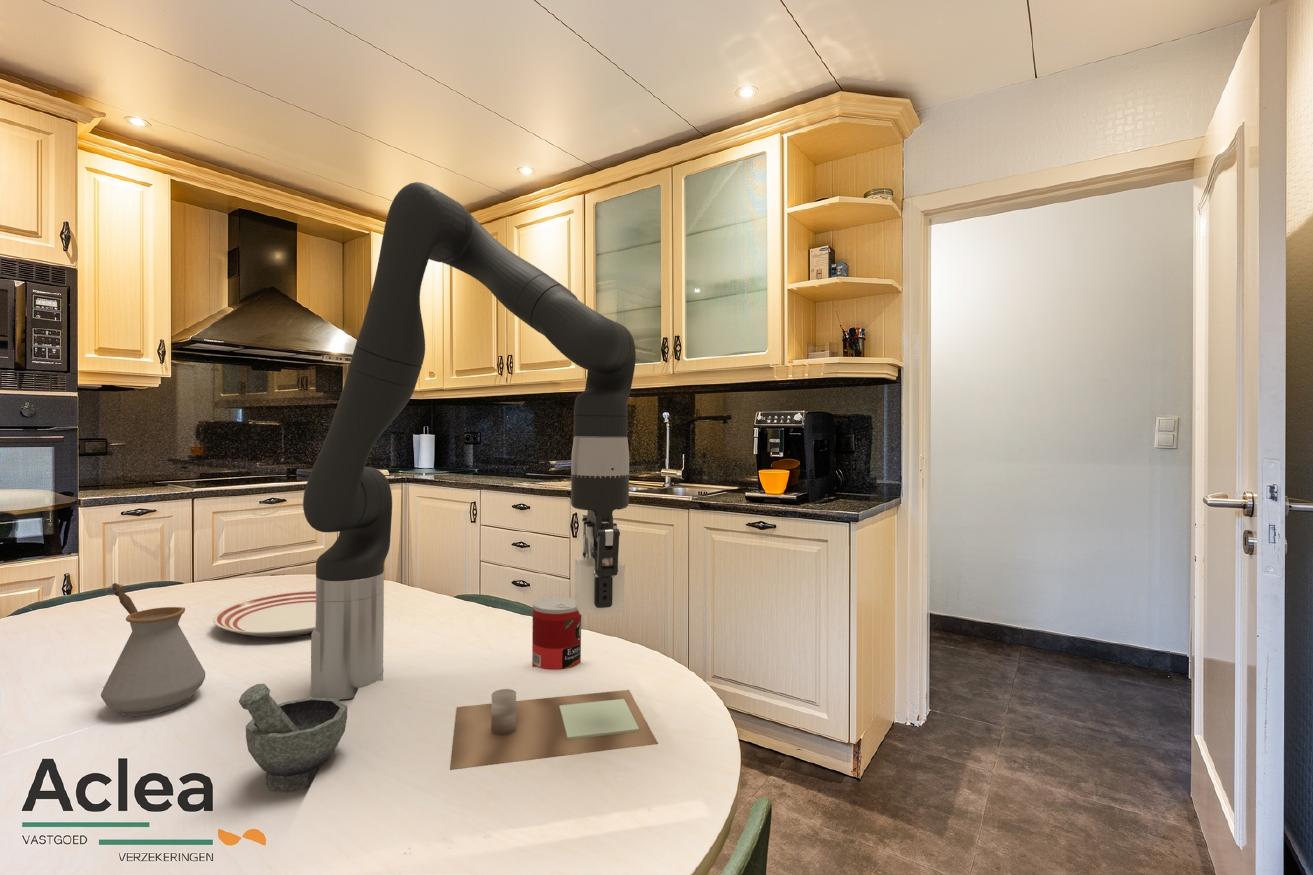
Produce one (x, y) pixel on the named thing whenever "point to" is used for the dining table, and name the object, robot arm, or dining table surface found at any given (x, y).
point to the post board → (533, 730)
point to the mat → (597, 719)
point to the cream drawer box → (586, 588)
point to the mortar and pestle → (291, 736)
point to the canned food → (556, 633)
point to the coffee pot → (152, 663)
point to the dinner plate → (271, 615)
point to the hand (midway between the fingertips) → (598, 599)
